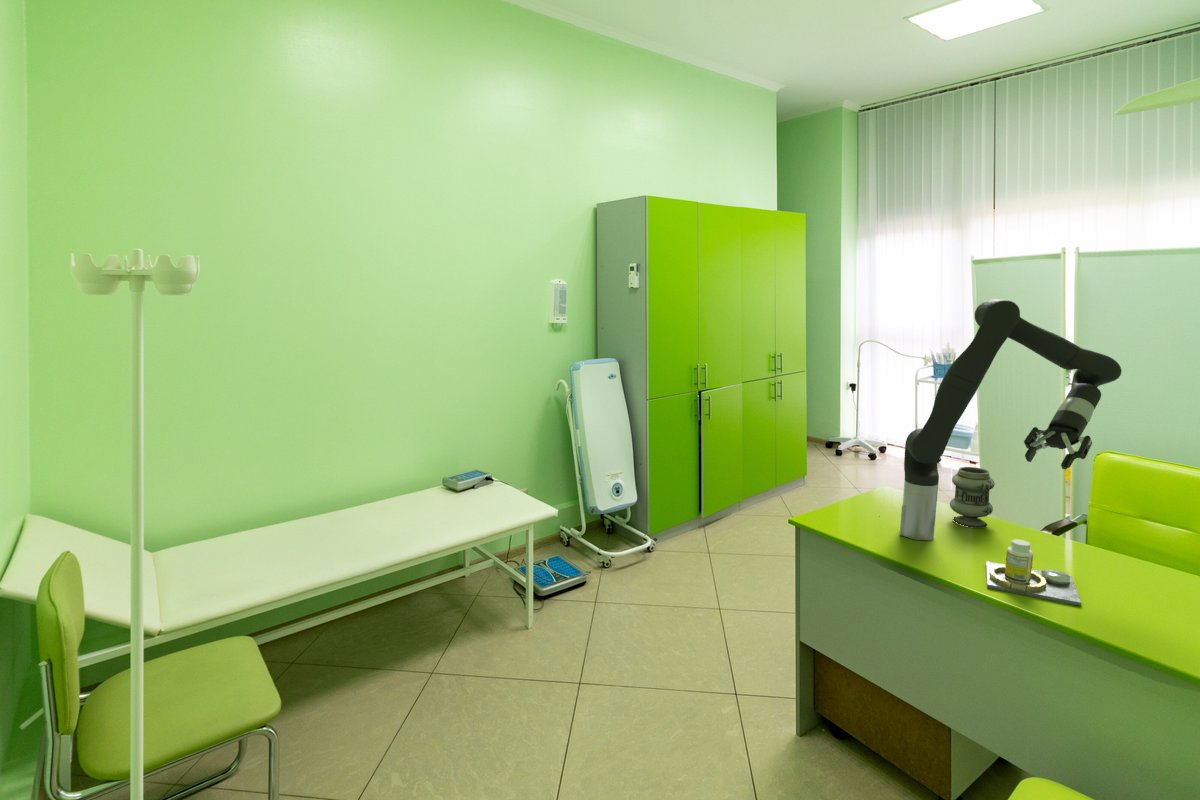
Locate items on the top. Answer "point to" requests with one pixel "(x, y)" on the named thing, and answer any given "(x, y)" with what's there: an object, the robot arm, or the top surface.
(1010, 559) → the supplement bottle
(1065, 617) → the top surface
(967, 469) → the apothecary jar
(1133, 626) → the top surface
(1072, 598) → the carrier plate
